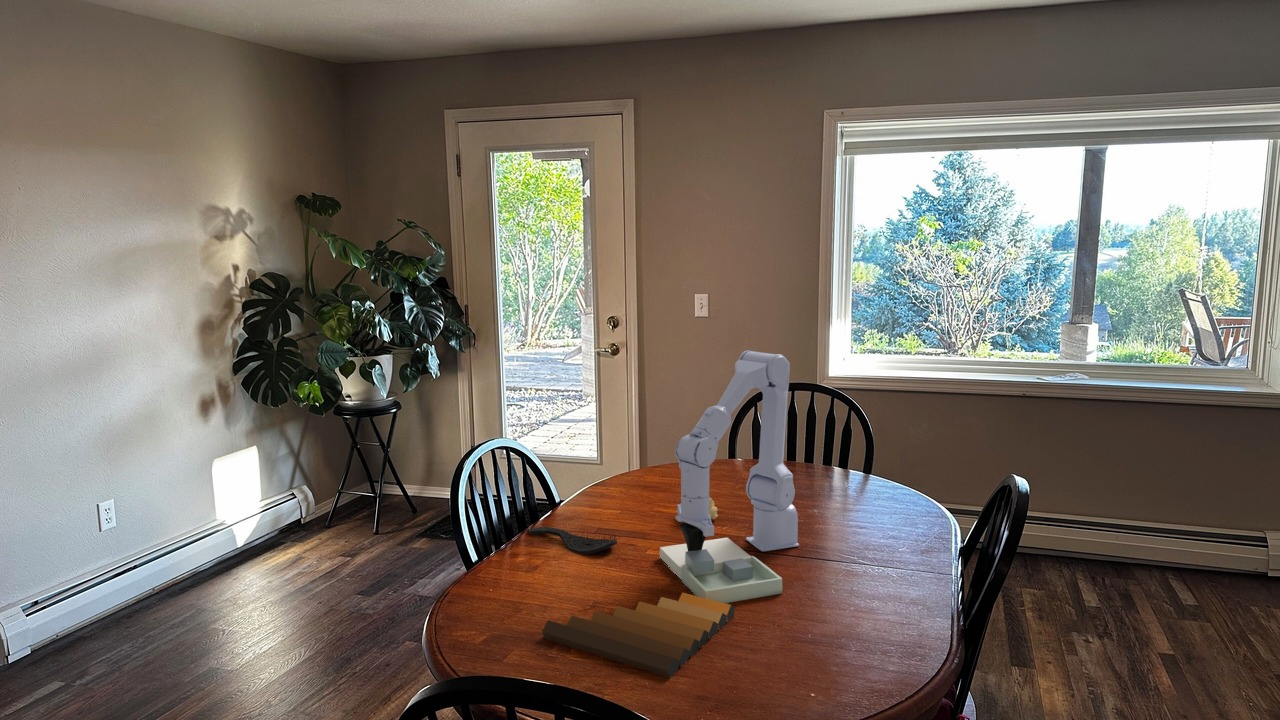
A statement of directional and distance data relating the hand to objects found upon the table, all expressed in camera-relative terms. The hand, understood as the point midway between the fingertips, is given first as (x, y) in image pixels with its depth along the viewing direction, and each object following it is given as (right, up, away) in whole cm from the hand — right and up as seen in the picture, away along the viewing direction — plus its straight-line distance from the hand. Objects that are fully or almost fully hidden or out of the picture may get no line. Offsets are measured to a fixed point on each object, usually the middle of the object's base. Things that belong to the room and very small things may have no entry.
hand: (694, 557), depth 164 cm
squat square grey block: (+9, -3, -2) cm, 9 cm away
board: (+3, -3, +5) cm, 7 cm away
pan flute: (-11, -8, -22) cm, 26 cm away
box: (+7, -4, -6) cm, 10 cm away
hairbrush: (-27, -2, +18) cm, 33 cm away
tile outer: (+1, -1, -2) cm, 3 cm away
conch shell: (+3, +1, +32) cm, 32 cm away
